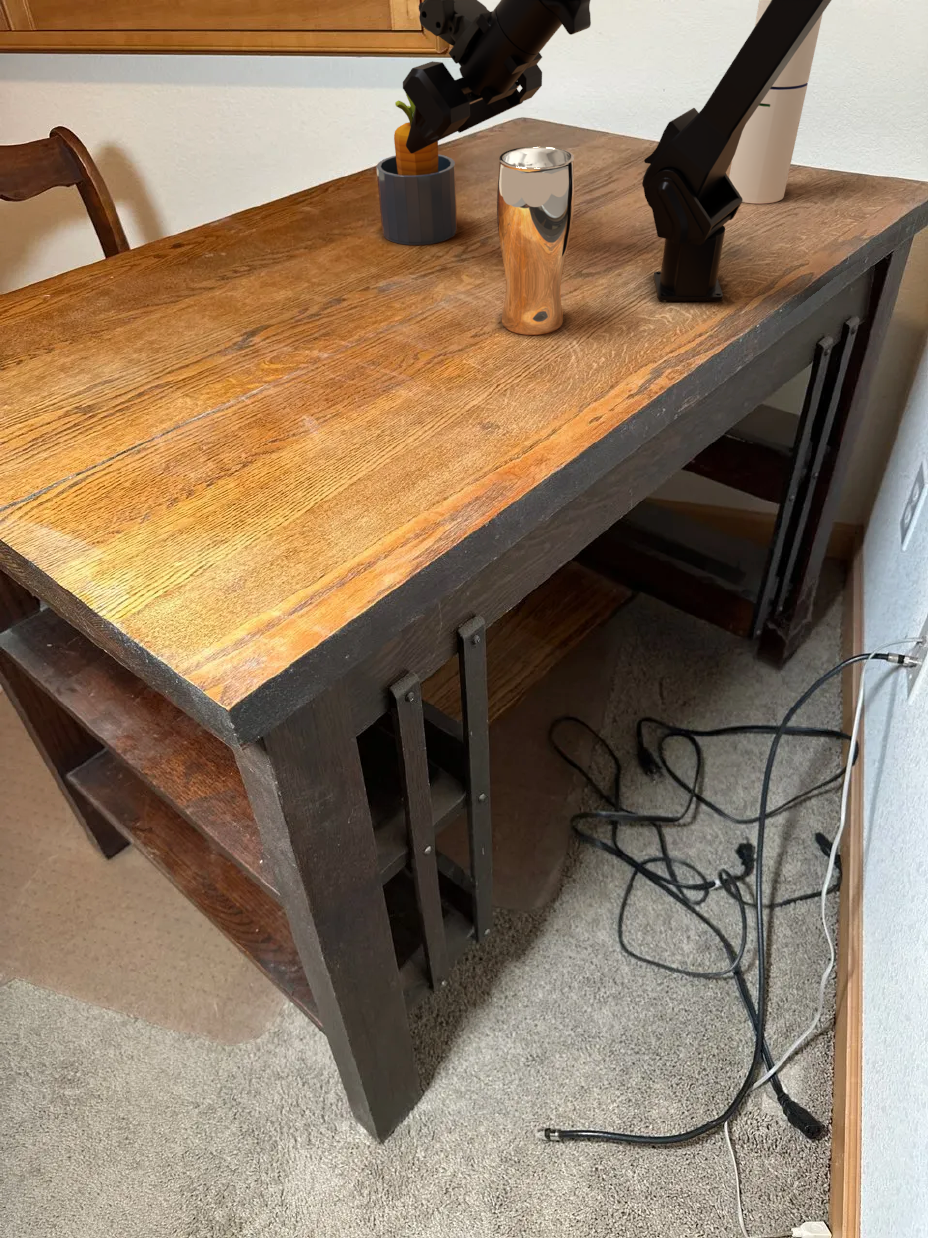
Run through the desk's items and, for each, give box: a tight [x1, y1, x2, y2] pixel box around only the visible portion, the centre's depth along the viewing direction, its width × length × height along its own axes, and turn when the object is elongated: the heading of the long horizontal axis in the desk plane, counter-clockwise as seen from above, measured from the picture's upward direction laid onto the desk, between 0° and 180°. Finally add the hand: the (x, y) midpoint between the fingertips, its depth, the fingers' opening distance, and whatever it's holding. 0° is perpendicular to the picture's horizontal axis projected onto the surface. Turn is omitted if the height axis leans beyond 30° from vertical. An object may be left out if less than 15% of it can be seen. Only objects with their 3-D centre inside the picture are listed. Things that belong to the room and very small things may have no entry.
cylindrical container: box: [728, 0, 824, 205], centre depth 103 cm, size 7×7×25 cm
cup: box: [376, 153, 458, 246], centre depth 103 cm, size 9×9×8 cm
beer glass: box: [496, 145, 575, 336], centre depth 81 cm, size 7×7×15 cm
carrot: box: [393, 91, 439, 175], centre depth 100 cm, size 5×5×15 cm
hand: (433, 138), depth 97 cm, fingers open, 9 cm apart
